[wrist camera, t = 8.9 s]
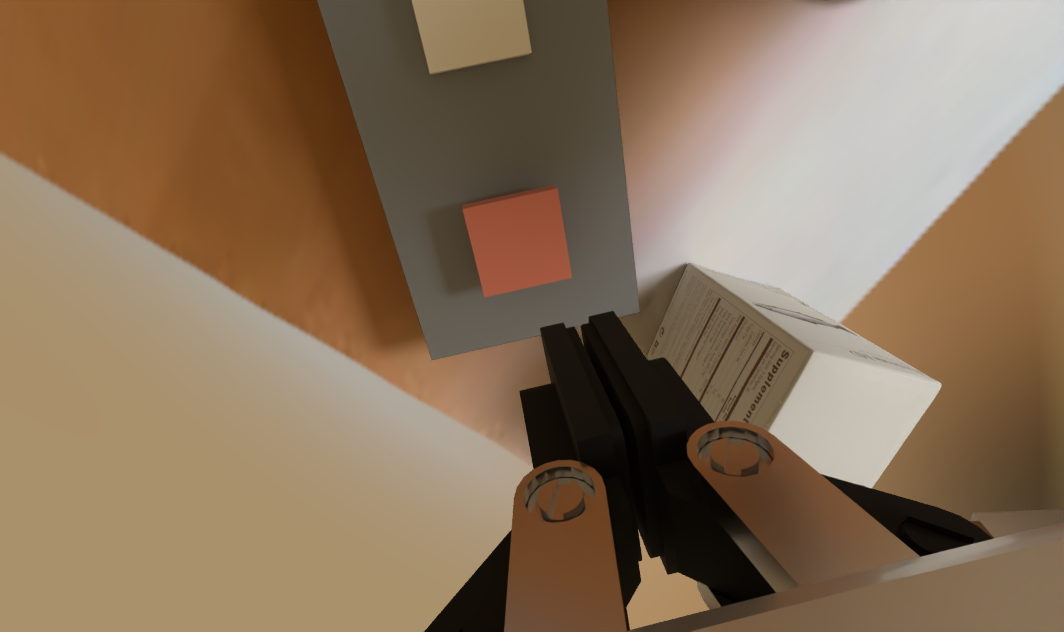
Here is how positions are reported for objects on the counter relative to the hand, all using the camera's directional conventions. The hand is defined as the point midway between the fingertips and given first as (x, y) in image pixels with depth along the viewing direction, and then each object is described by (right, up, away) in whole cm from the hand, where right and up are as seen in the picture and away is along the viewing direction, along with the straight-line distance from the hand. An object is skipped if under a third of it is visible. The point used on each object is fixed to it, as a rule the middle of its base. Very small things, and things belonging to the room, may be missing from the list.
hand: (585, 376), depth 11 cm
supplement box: (+11, +1, +22) cm, 25 cm away
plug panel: (-4, +12, +15) cm, 20 cm away
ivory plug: (-4, +16, +12) cm, 20 cm away
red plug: (-2, +6, +16) cm, 17 cm away
